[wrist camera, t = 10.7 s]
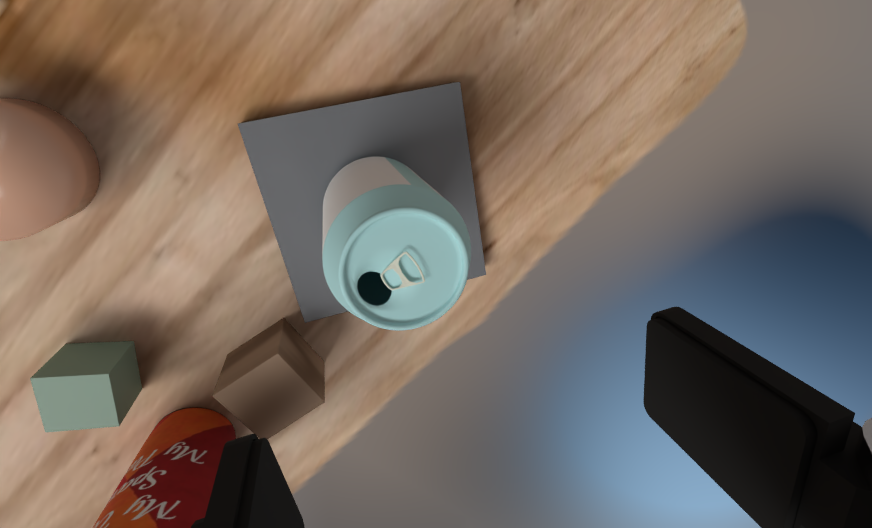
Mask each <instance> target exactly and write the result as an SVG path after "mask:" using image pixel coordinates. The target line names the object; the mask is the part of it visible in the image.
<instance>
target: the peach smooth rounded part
mask: <svg viewBox="0 0 872 528" xmlns="http://www.w3.org/2000/svg"><path fill="white" fill-rule="evenodd" d="M99 181H100V170H99V164H98V160H97V157H96V154H95V152H94V150H93V148H92V146H91V144H90V142H89V141H88V140H87V138H86V137H85V136H84V134H83V133H82V132H81V131H80V130H79V129H78V128H77V127H76V126H75V125H74V124H73V123H72V122H70V121H69V120H68V119H66V118H65V117H64V116H62V115H61V114H59V113H57V112H56V111H54V110H52V109H50V108H48V107H45V106H43V105H40V104H37V103H35V102H31V101H27V100H21V99H13V98H0V241H8V240H16V239H21V238H25V237H28V236H31V235H33V234H36V233H38V232H40V231H42V230H44V229H46V228H48V227H50V226H52V225H54V224H56V223H58V222H60V221H63V220H65V219H67V218H69V217H71V216H73V215H75V214H77V213H78V212H80V211H82V210H83V209H84V208H85V207H86V206H87V205H88V204H89V203H90V202H91V201H92V199H93V198H94V196H95V194H96V192H97V189H98V186H99Z"/></svg>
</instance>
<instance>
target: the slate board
mask: <svg viewBox="0 0 872 528" xmlns="http://www.w3.org/2000/svg"><path fill="white" fill-rule="evenodd" d="M238 127H239V130H240V132H241V135H242V138H243V141H244V144H245V147H246V150H247V153H248V156H249V159H250V162H251V165H252V168H253V171H254V174H255V177H256V180H257V183H258V186H259V189H260V191H261V194H262V197H263V200H264V203H265V206H266V209H267V212H268V215H269V218H270V221H271V224H272V227H273V230H274V233H275V236H276V239H277V242H278V245H279V248H280V250H281V253H282V256H283V259H284V262H285V265H286V268H287V271H288V274H289V277H290V280H291V283H292V286H293V289H294V292H295V295H296V298H297V301H298V304H299V307H300V310H301V312H302V315H303V318H304V321H305V323H306V322H309V321H313V320H317V319H321V318H325V317H328V316H332V315H336V314H340V313H343V312H347V311H348V310H347V309H345V308H344V307H343V306H342V305H341V304H340V303H339V302H338V300H337V299H336V298H335V296H334V295H333V294H332V292H331V290H330V288H329V286H328V284H327V281H326V279H325V275H324V270H323V261H322V244H323V200H324V196H325V192H326V190H327V187H328V185H329V183H330V182H331V180H332V179H333V177H334V176H335V175H336V174H337V173H338V172H339V171H340V170H341V169H342V168H343V167H345V166H346V165H348V164H350V163H351V162H353V161H356V160H358V159H362V158H366V157H386V158H391V159H394V160H396V161H399V162H401V163H403V164H404V165H406V166H407V167H409V168H410V169H411V170H412V171H413V172H414V173H416V174H417V175H418V176H419V177H420V178H421V179H423V180H424V181H425V182H426V183H427V184H429V185H430V186H431V187H432V188H433V189H434V190H436V191H437V192H438V193H439V194H440V195H441V196H443V197H444V198H445V199H446V200H447V201H448V202H450V203H451V204H452V205H453V206H454V207H455V209H456V210H457V211H458V212H459V214H460V215H461V217H462V219H463V220H464V222H465V224H466V227H467V230H468V233H469V237H470V242H471V262H470V267H469V272H468V277H467V280H468V279H472V278H476V277H479V276H483V275H486V271H485V264H484V256H483V249H482V241H481V234H480V227H479V219H478V212H477V204H476V197H475V190H474V182H473V175H472V168H471V160H470V153H469V145H468V138H467V131H466V123H465V116H464V108H463V101H462V94H461V86H460V82H453V83H448V84H443V85H438V86H432V87H427V88H422V89H416V90H411V91H406V92H401V93H395V94H390V95H385V96H379V97H374V98H369V99H364V100H358V101H353V102H348V103H342V104H337V105H332V106H327V107H321V108H316V109H311V110H306V111H300V112H295V113H290V114H284V115H279V116H274V117H269V118H263V119H258V120H253V121H247V122H242V123H239V124H238Z"/></svg>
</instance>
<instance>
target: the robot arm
mask: <svg viewBox="0 0 872 528" xmlns="http://www.w3.org/2000/svg"><path fill="white" fill-rule="evenodd" d="M644 407H645V409H646V412H647V413H648V415H649V416H650V417H651V418H652V419H653V420H654V421H655V422H656V423H657V424H658V425H659V426H660V427H661V428H662V429H663V430H664V431H665V432H666V433H667V434H668V435H669V436H670V437H671V438H672V439H673V440H674V441H675V442H676V443H677V444H678V445H679V446H680V447H681V448H682V449H683V450H684V451H685V452H686V453H687V454H688V455H689V456H690V457H691V458H692V459H693V460H694V461H695V462H696V463H697V464H698V465H699V466H700V467H701V468H702V469H703V470H704V471H705V472H706V473H707V474H708V475H709V476H710V477H711V478H712V479H713V480H714V481H715V482H716V483H717V484H718V485H719V486H720V487H721V488H722V489H723V490H724V491H725V492H726V493H727V494H728V495H729V496H730V497H731V498H732V499H733V500H734V501H735V502H736V503H737V504H738V505H739V506H740V507H741V508H742V509H743V510H744V511H745V512H746V513H747V514H748V515H749V516H750V517H751V518H752V519H753V520H754V521H755V522H756V523H757V524H758V525H759V526H760V527H761V528H872V418H871V419H869V420H867V421H865V423H864V425H863V427H861V426H859V425H858V424H856V423H854V422H853V418H854V415H855V413H854V412H852V411H851V410H849V409H847V408H846V407H844V406H842V405H840V404H839V403H837V402H836V401H834V400H832V399H831V398H829V397H827V396H826V395H824V394H822V393H821V392H819V391H817V390H816V389H814V388H813V387H811V386H809V385H808V384H806V383H804V382H803V381H801V380H799V379H798V378H796V377H794V376H793V375H791V374H789V373H788V372H786V371H784V370H783V369H781V368H779V367H778V366H776V365H774V364H773V363H771V362H769V361H768V360H766V359H765V358H763V357H761V356H760V355H758V354H756V353H755V352H753V351H751V350H750V349H748V348H746V347H745V346H743V345H741V344H740V343H738V342H736V341H735V340H733V339H732V338H730V337H728V336H727V335H725V334H723V333H722V332H720V331H718V330H717V329H715V328H713V327H712V326H710V325H708V324H707V323H705V322H703V321H702V320H700V319H699V318H697V317H695V316H694V315H692V314H690V313H688V312H687V311H685V310H684V309H682V308H680V307H672V308H669V309H666V310H662V311H659V312H656V313H654V314H653V315H652V316H651V320H650V321H648V323H647V334H646V359H645V384H644ZM191 528H304V523H303V519H302V516H301V514H300V512H299V510H298V507H297V505H296V503H295V500H294V498H293V496H292V494H291V491H290V489H289V487H288V485H287V482H286V480H285V478H284V475H283V473H282V471H281V469H280V466H279V464H278V462H277V460H276V457H275V455H274V453H273V451H272V448H271V446H270V444H269V442H268V440H267V439H266V438H261V439H259V438H258V437H257V435H256V434H251V435H247V436H244V437H241V438H237V439H234V440H231V441H227V442H226V443H225V445H224V448H223V451H222V455H221V459H220V462H219V466H218V470H217V474H216V477H215V481H214V485H213V488H212V492H211V496H210V500H209V503H208V507H207V511H206V515H205V517H204V518H201V519H199V520H196V521H195V522H194V523H193V525H192V526H191Z"/></svg>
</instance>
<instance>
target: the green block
mask: <svg viewBox="0 0 872 528" xmlns="http://www.w3.org/2000/svg"><path fill="white" fill-rule="evenodd" d="M30 379H31V383H32V386H33V390H34V394H35V397H36V401H37V404H38V408H39V411H40V415H41V419H42V422H43V426H44V429H45V432H56V431H68V430H80V429H92V428H104V427H116V426H120V424H121V422H122V421H123V419H124V418H125V416H126V414H127V413H128V411H129V409H130V408H131V406H132V405H133V403H134V401H135V400H136V398H137V396H138V395H139V393H140V392H141V390H142V385H141V380H140V374H139V368H138V362H137V357H136V351H135V345H134V341H122V342H97V343H73V344H65V345H64V346H63V347H62V348H61V349H60V350H59V351H58V352H57V353H56V354H55V355H54V356H53V357H52V358H51V359H50V360H49V361H48V362H47V363H46V364H45V365H44V366H43V367H41V368H40V369H39V370H38V371H37V372H36V373H35V374H34V375H33V376H32V377H31V378H30Z"/></svg>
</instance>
